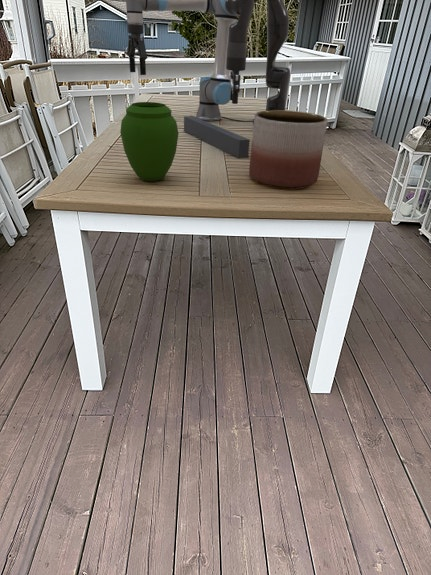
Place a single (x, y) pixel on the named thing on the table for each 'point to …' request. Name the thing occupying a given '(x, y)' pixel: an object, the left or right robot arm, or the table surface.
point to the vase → (149, 139)
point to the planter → (287, 148)
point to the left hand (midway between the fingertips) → (137, 73)
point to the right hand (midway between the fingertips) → (233, 102)
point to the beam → (217, 136)
